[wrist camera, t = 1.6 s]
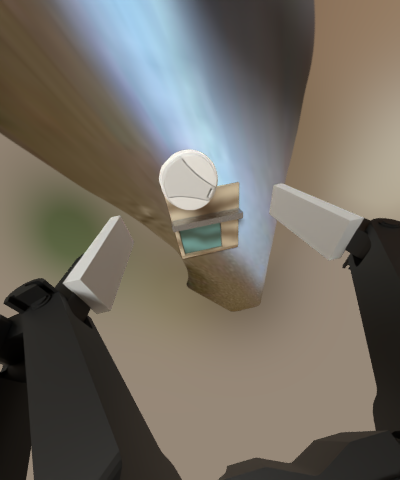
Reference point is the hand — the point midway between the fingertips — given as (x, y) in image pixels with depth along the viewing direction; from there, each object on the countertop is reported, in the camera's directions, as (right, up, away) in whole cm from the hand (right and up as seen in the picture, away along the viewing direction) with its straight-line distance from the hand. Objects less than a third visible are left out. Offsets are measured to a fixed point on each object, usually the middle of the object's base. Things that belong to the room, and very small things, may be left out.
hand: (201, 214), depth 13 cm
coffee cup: (-4, +14, +19) cm, 24 cm away
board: (+2, +2, +28) cm, 29 cm away
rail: (+1, +4, +26) cm, 26 cm away
